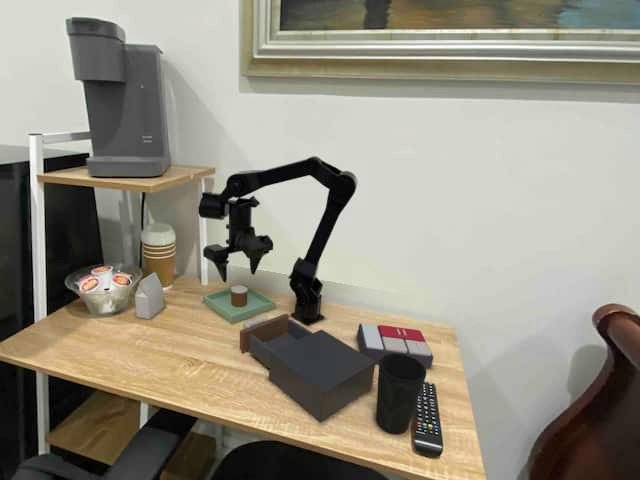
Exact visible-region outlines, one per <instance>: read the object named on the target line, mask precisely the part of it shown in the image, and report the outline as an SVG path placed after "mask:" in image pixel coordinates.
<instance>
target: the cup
mask: <svg viewBox="0 0 640 480" xmlns="http://www.w3.org/2000/svg"><path fill="white" fill-rule="evenodd" d="M427 372H428V371H427V368H425V367H424V366H423V364H421V363H420V362H419V361H418V360H416V359H415V358H412V357H410V356H407V355H404V354H396V353H393V354H387V355H385V356H383V357H382V358H381V359H380V361H379V364H378V376H377V393H376V409H375V410H376V411H375V422H376V425H377V426H378V427H379V428H380V429H381V430H382V431H383V432H385V433H388V434H390V435H402V434H404V433H406V432H407V431H408V429H409V426H410V424H411V423H410V422H411V420H412V417H413V414H414V411H415V409H416V406H417V403H418V400H419V397H420V394H421V391H422V389H423V385H424V383H425V381H426V378H427Z"/></svg>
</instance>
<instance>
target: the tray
mask: <svg viewBox="0 0 640 480" xmlns="http://www.w3.org/2000/svg"><path fill="white" fill-rule="evenodd" d="M240 285H241V286H245V287H247V289H248V290H247V305H246V306H244V307H234V306H232V305H231V288H232V287H229V288H225V289H221V290H217V291H215V292H211V293H207V294H204V295H203V296H202V302H203V303H204V304H205V305H206V306H207V307H209V308H210V309H212V310H213V311H214V312H216V313H217V314H218V315H220V316H221V317H222V318H223V319H225V320H226V321H228V322H229V323H230V324H235V323H237V322H240V321H243V320H245V319H248V318H252V317H254V316H256V315H259V314H262V313H265V312H268V311H271V310H274V309H276V301H275V300H273V299H271V298H270V297H268V296H266V295H264V294H263V293H261V292H259V291H258V290H256V289H254V288H253V287H251V286H249V285H248V284H247V283H242V284H240Z"/></svg>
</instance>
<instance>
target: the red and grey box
mask: <svg viewBox="0 0 640 480" xmlns="http://www.w3.org/2000/svg"><path fill="white" fill-rule="evenodd" d="M356 338H357V343H358V350H359V352H360V353H362V354H364V355H365V356H367V357H369V358H370V359H372V360H374V361H375V362H376V364H375V365H379V361H380V359H381V358H382V357H383V356H385V355H387V354H393V353H396V354H404V355H407V356H410V357H412V358H415V359H416V360H418V361H419V362H420V363H421V364H423V366H424V367H425V369H429V370H430V369H432V365H433V361H434V356H433V353H432V351H431V349H430V347H429V345H428V342H427V341H426V339H425V337H424V335H423V333H422V331H421V330H420V329H415V328H407V327H399V326H391V325H386V324H385V325H383V324H378V325H377V324H371V323H359V324H358V329H357V334H356Z"/></svg>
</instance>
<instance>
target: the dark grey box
mask: <svg viewBox="0 0 640 480" xmlns="http://www.w3.org/2000/svg"><path fill="white" fill-rule="evenodd" d="M376 365H377V364H376V362H375V361H374V360H372V359H370V358H369V357H367V356H365V355H364V354H362V353H360V350H357V349H355V348H353V347H352V346H350V345H349V344H347V343H345V342H344V341H343V340H340V339H338V338H337V337H335V336H333V335H332V334H331V333H328V331H325V330H323V328H322V329H319V330H316V331H315V332H312V334H310V335H308V336H306V337H303V338H301V339H299V340H297V341H294V342H292V343H290V344H288V345H285V346H283V347H281V348H279V349H276V350H274V351H272V352H270V368H268V369H269V371H268V380H269V381H270V382H271V383H272V384H273V385H275V386H276V387H277V388H278V389H280V391H282V392H283V393H284V394H285V395H286V396H288V397H289V398H290V399H291V400H293V401H294V402H295V403H296V404H298V405H299V406H300V407H301V408H302V409H304V410H305V411H306V412H307V413H308V414H310V416H312V417H313V418H314V419H315V420H316V421H318V422H319V423H323V422H324V421H325V420H327V419H328V418H330V417H332V416H333V415H336V413H338V412H339V411H341V410H343V409H344V408H346V407H347V406H349V405H350V404H351V403H353V402H354V401H356V400H358V399H359V398H361V397H363V395H365V394H366V393H368V392H370V391H371V390H372V387H373V382H374V376H375V369H376Z"/></svg>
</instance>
